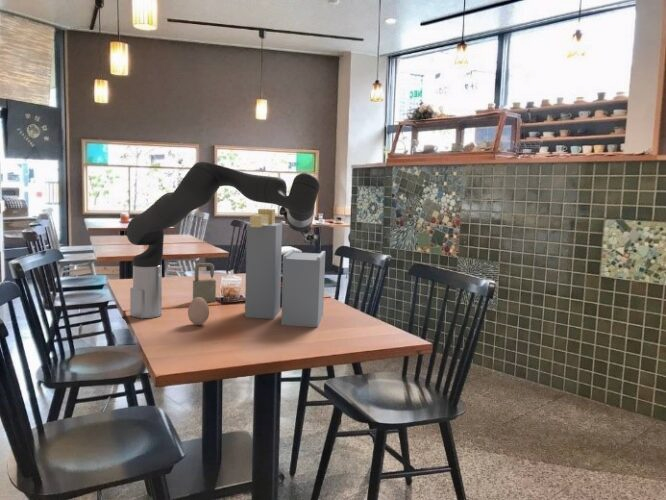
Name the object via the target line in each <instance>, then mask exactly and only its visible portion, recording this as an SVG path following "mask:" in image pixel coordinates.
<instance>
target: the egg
mask: <svg viewBox="0 0 666 500" xmlns="http://www.w3.org/2000/svg"><path fill="white" fill-rule="evenodd" d="M187 316H188V319H189V321H190V322H191V323H192V324H193V325H195V326H201V325H203V324H205V323H206V322H207V320H208V319H209V316H210V308H209V305H208V302H206V301H205V300H204V299H203V298H201V297H196V298H195V299H193V298H192V300H191V301H190V303H189V306H188V308H187Z"/></svg>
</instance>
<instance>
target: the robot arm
mask: <svg viewBox="0 0 666 500" xmlns="http://www.w3.org/2000/svg"><path fill="white" fill-rule="evenodd" d="M184 175H185V176H184V177H183V178H182V179H181V181H180V182H179V184H178V185H177V187H176V188H175V190H174V191H171V192H166V193H164V194H163V195H162V196H160V197H158V199H157V200H155V202H153V204H152V205H150V206H149V207H148V208H146V209H145V211H143V212H141V213H140V214H138V215H136V216H134V217H133V218H132V219H130V221H129V222H128V225H127V226H126V238H127V240H128V241H129V243H130V244H132V245H134V246H147V248H146V249H145V251H143V252H141V253H139V254H136V255H134V256H133V258H132V287H130V292H129V295H130V299H129V300H130V302H129V303H130V304H129V305H130V311H129V312H130V315H129V316H130V317H134V318H139V319H141V320H142V319H153V318H158V317H160V316H162V313H163V311H162V309H163V308H162V307H163V306H162V299H163V298H162V292H163V288H162V287H163V285H162V284H163V281H162V278H163V273H162V271H163V270H162V268H163V267H162V266H163V264H162V263H163V258H164V257H163V256H164V239H165V238H164V237H165V230H167V229H170V228H173V227H175V226H176V225H178V224H179V223H180V222H181V221H182V220H184V219H185V218H186V217H187V216H188V215H189V214H190V213H191V212H192V211H194V210H196V209H199V208H201V207H203V206H205V205H206V204H208V203H209V202H210V201H211V200H212V198H213V197H214V195H215V194H216V193H217V191H219V189H220V187H232V188H235V190H237V191H239V192H240V194H242V195H243V197H245V198H246V199H248V200H250V201H253V202H257V203H261V204H262V203H263V204H270V205H271V204H272V205H276V206H279V207H280V208H279V211H278V213H279V215H280V216H283V217H282V218H283V219H284V223H285V224H286V225H288V226H289V228H290V229H291V230H293V231H296V232H298V233H299V234H300V236H301V237H302V238H303V239H304V243H305V244H309V243H310V245H311V246H313V245H314V244H315V243H316V242H318V241H319V233H318V232H317V231H313V229H312V228H311V225H312V224H313V220H314V216H315V206H316V205H315V204H316V201H317V198H318V195H319V191H320V188H321V183H320V181H319V179H318V178H317V177H316V176H315V175H314V174H312V173H310V172H301V173H299V174H296V176H295V177H294V178H293V180H292V184H291V187H290V190H289V193H288V195H287V190H288V188H287V183H286V181H285V180H284V178H282V177H278V176H268V175H259V174H253V173H247V172H243V171H239V170H236V169H233V168H230V167H226V166H222V165H219V164H216V163H212V162H207V161H199V162H198V161H197V162H196V163H194V165H192V167H191V168H190V169H189V170H188V171H187V173H186V174H184Z"/></svg>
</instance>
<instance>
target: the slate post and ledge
mask: <svg viewBox="0 0 666 500" xmlns="http://www.w3.org/2000/svg"><path fill="white" fill-rule="evenodd" d="M245 239H246V241H245V242H246V247H245V253H246V254H245V290H244V291H245V299H244V301H245V304H244V306H245V307H244V318H251V319H269V320H272V319H273V320H274V319H275V318H276V316H278V314H279V313H280V312H281V323H280V324H281V326H291V327H292V326H293V327H307V328H308V327H309V328H311V327H312V328H318V327H319V325H320V323H321V320H322V318H323V316H324V302H325V299H324V297H325V274H326V273H325V271H326V270H325V268H326V250H322V251H321V252H320V253H319V252H318V253H314V252H313V253H312V252H297V251H296V250H295V249H291V250H289V251H288V252H287V253H285V254H284V255H283V256H282V247H283V246H282V245H283V244H282V242H283V241H282V240H283V223H281V222H279V223H277V222H275V224H269V225H266V226H263V227H250V223H248V224H246V238H245ZM295 251H296V252H295ZM282 275H283V283H282V306H280V288H281V276H282Z"/></svg>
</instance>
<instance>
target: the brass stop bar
mask: <svg viewBox="0 0 666 500" xmlns="http://www.w3.org/2000/svg"><path fill="white" fill-rule="evenodd" d="M249 219H250V220H249V224H250V227H263V226H266V225H269V224H275V223H276V209H274V208H273V209H271V208H259V209H258V210H257V214H253V215H252V214H251V215H250V216H249Z"/></svg>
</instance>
